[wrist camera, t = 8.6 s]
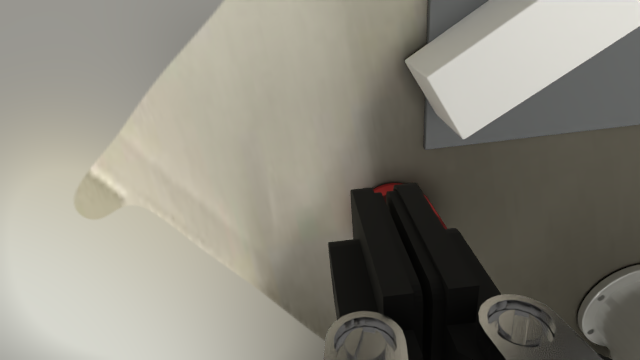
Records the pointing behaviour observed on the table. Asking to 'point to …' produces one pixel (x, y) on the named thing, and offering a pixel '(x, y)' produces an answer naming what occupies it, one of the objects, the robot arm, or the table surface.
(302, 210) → the table surface
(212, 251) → the table surface
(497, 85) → the milk
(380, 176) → the table surface
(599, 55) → the mat
